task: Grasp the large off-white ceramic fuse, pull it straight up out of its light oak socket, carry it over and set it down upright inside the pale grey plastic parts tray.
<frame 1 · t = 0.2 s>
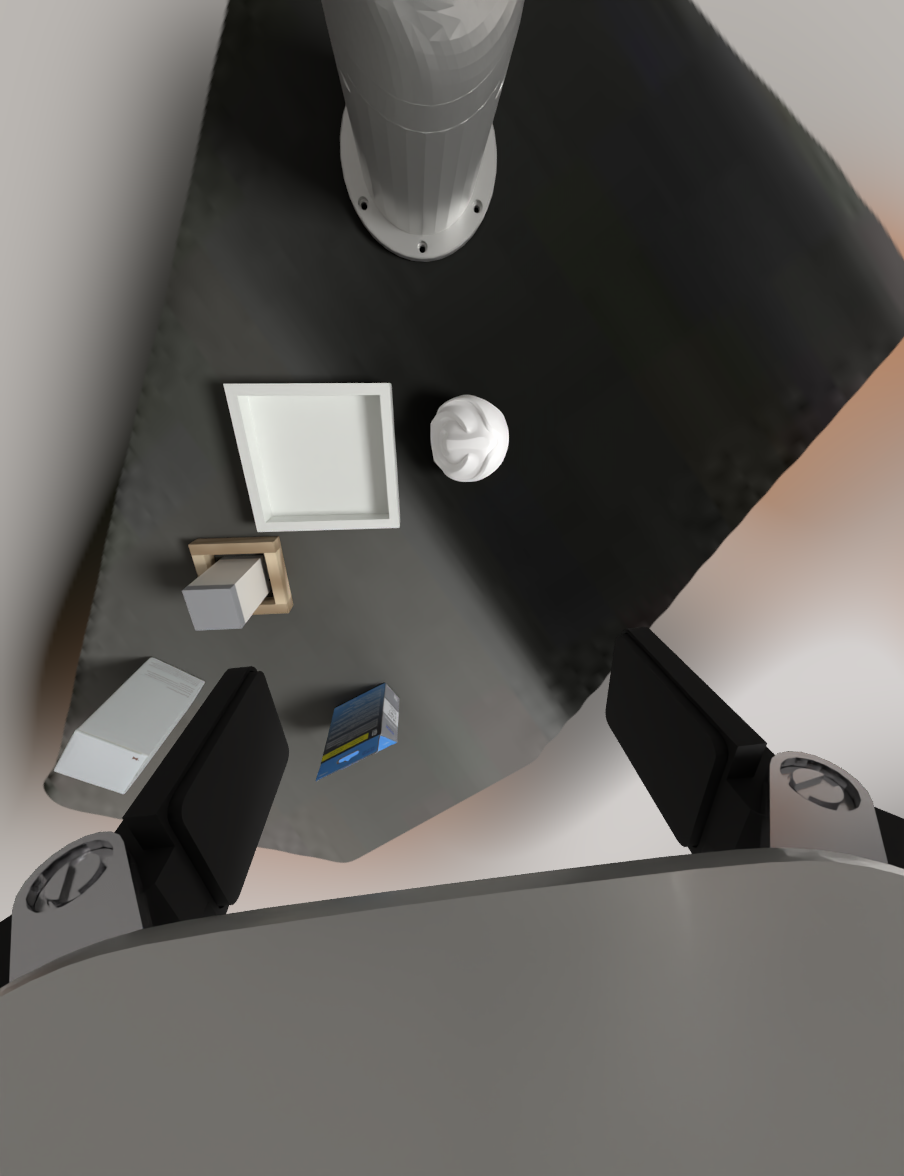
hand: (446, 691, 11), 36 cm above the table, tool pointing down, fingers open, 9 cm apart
supplement box: (168, 685, 53), on the table
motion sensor: (465, 436, 42), on the table
fuse socket: (247, 573, 47), on the table
label tape cartridge: (367, 701, 57), on the table
fuse: (231, 590, 43), in the fuse socket
parts tray: (325, 458, 42), on the table
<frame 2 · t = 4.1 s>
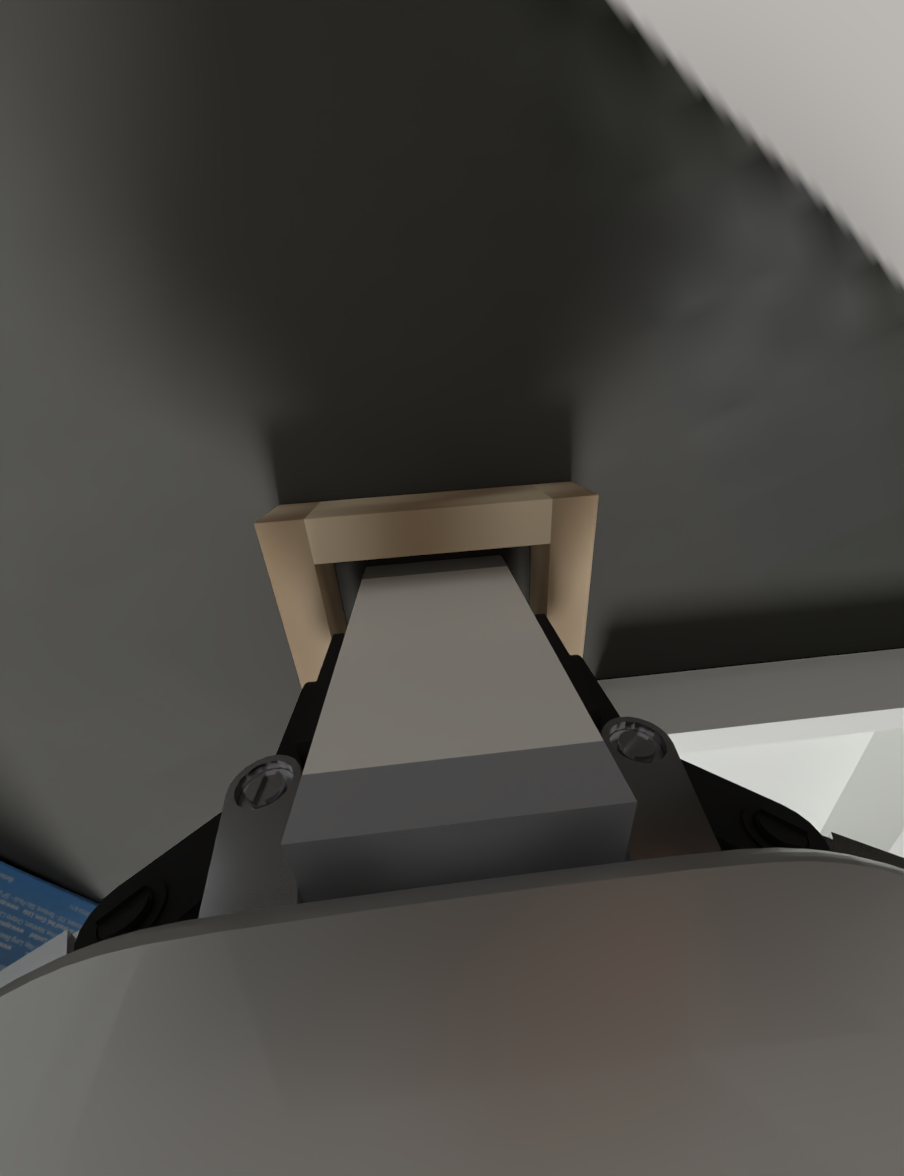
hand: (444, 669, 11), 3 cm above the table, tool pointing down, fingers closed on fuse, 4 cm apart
fuse socket: (439, 619, 14), on the table
label tape cartridge: (12, 881, 18), on the table
fuse: (448, 708, 10), in the fuse socket, touching gripper
parts tray: (719, 787, 19), on the table
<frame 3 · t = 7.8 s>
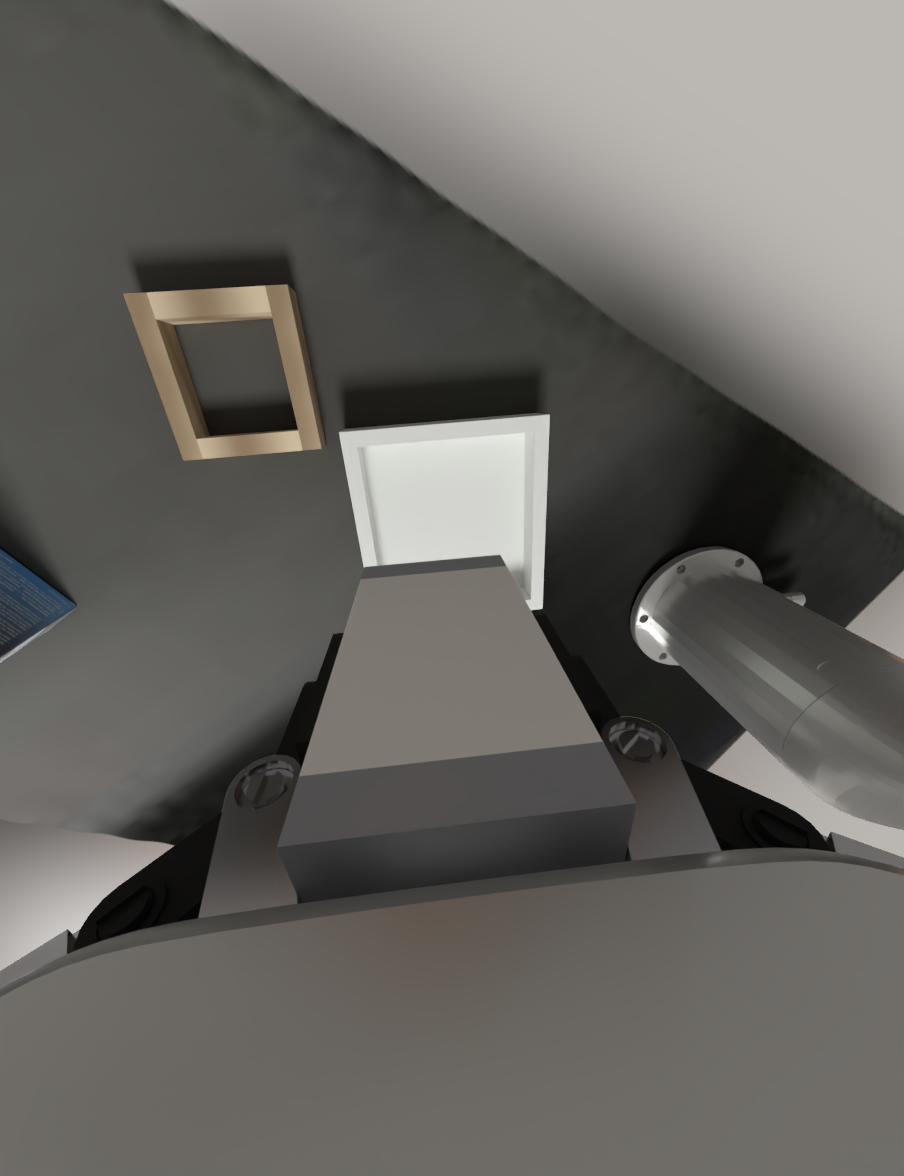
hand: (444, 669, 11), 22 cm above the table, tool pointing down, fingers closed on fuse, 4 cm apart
fuse socket: (243, 379, 26), on the table
label tape cartridge: (12, 576, 30), on the table
fuse: (447, 708, 10), point 23 cm above the table, touching gripper
parts tray: (449, 520, 32), on the table
when the fingers open (5 cm above the table, at t = 11.8 s): fuse drops 1 cm, resting on parts tray.
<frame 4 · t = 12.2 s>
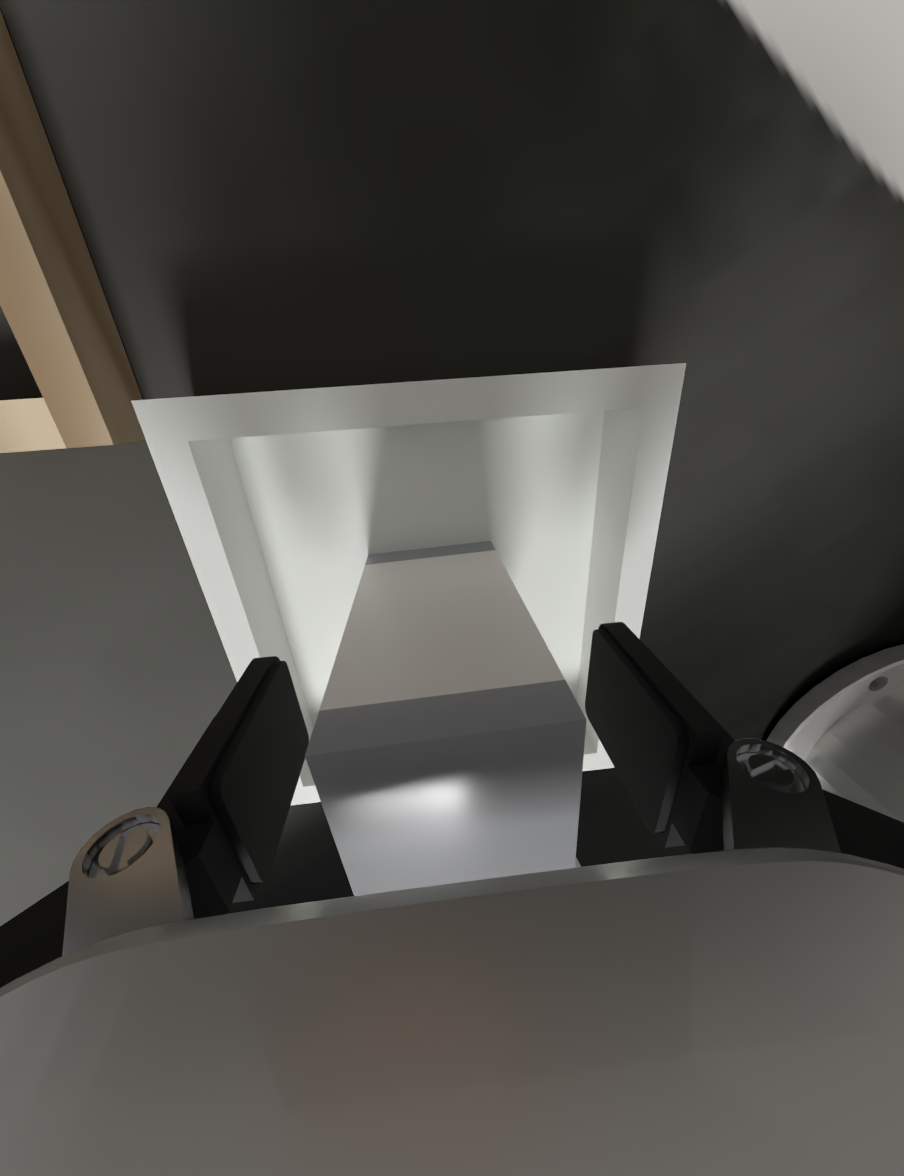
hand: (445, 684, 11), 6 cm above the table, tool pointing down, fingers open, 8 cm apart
fuse: (443, 673, 11), in the parts tray, point 5 cm above the table
parts tray: (436, 594, 16), on the table
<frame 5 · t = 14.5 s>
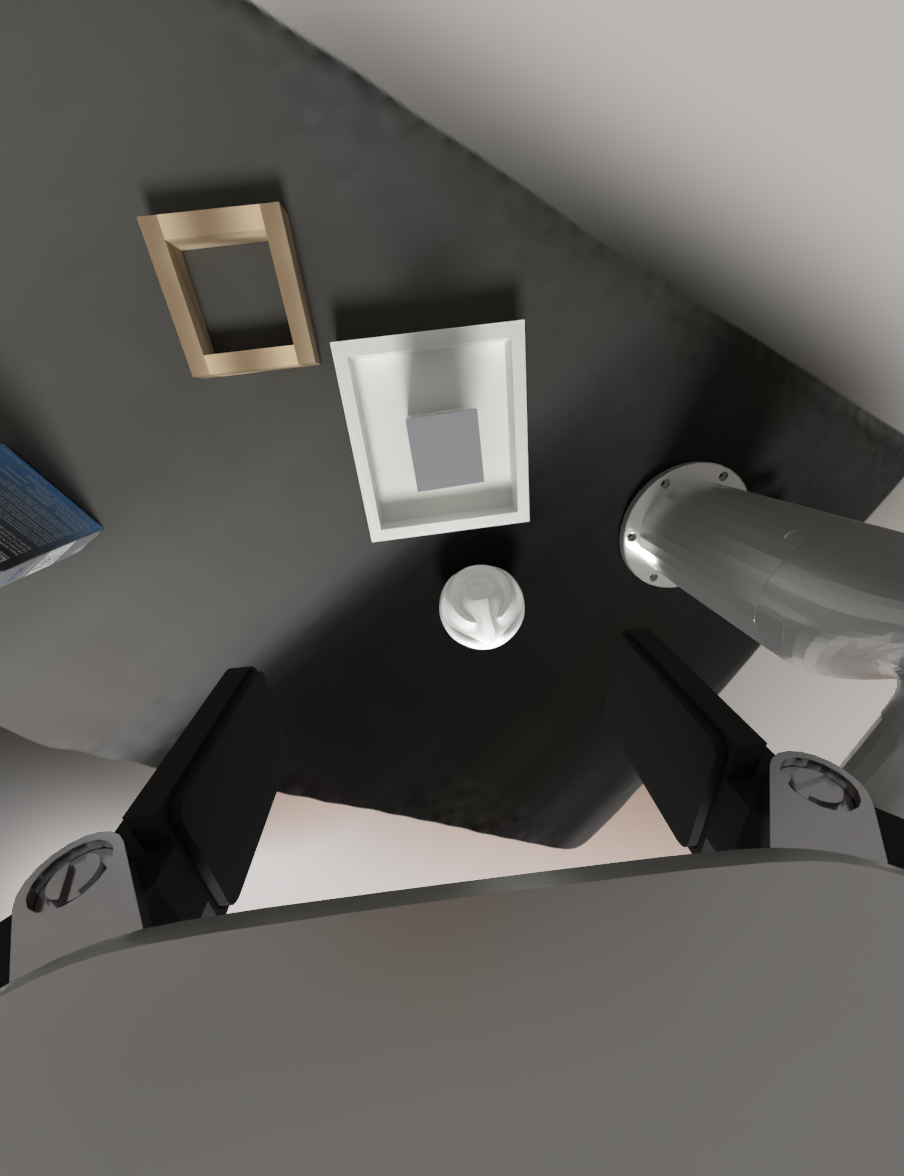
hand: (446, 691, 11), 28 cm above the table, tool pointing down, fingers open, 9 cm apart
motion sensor: (475, 589, 41), on the table
fuse socket: (244, 301, 29), on the table
label tape cartridge: (46, 500, 34), on the table
fuse: (442, 445, 29), in the parts tray, point 5 cm above the table
parts tray: (438, 438, 34), on the table
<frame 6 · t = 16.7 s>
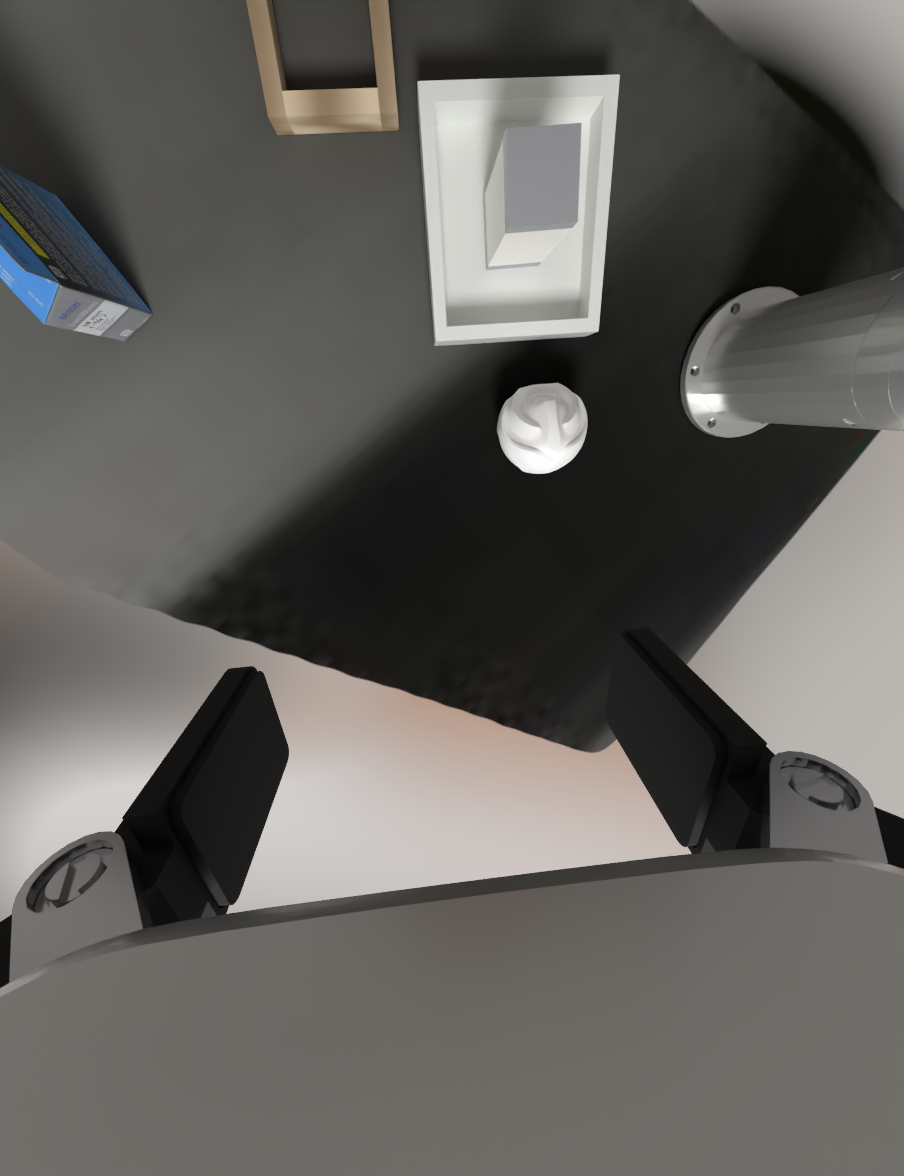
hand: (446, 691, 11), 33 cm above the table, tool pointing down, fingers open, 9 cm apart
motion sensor: (529, 427, 40), on the table
fuse socket: (326, 42, 27), on the table
label tape cartridge: (95, 274, 32), on the table
fuse: (525, 209, 28), in the parts tray, point 5 cm above the table
parts tray: (510, 235, 33), on the table
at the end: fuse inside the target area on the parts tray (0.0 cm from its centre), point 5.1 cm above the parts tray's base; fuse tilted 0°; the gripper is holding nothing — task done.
